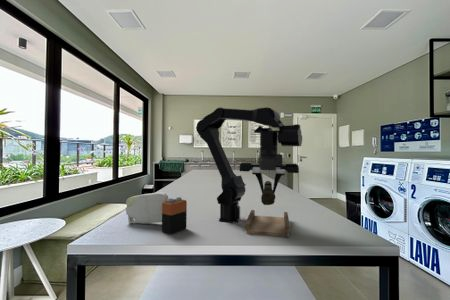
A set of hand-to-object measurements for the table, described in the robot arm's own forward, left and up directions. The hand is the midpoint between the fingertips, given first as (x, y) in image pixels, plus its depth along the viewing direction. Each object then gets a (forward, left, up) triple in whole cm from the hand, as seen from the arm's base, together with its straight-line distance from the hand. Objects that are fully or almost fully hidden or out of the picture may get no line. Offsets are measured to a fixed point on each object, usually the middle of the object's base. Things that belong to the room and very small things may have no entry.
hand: (268, 193), depth 75 cm
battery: (-28, -11, -11) cm, 32 cm away
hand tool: (0, 0, -2) cm, 2 cm away
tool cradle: (0, 0, -11) cm, 11 cm away
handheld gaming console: (-40, -7, -11) cm, 42 cm away
